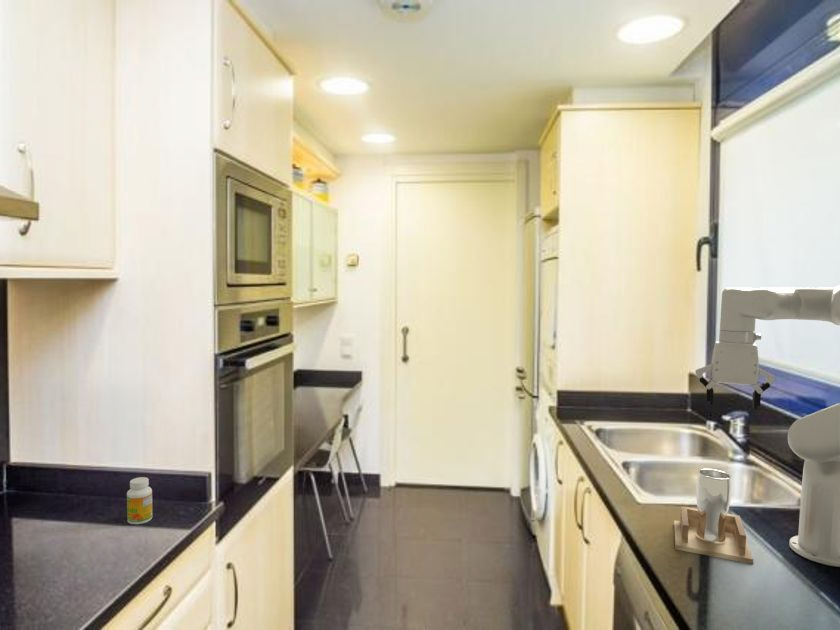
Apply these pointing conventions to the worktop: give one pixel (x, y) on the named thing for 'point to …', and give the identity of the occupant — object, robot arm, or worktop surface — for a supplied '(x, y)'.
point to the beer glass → (712, 504)
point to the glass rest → (689, 542)
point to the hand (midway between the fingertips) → (732, 406)
